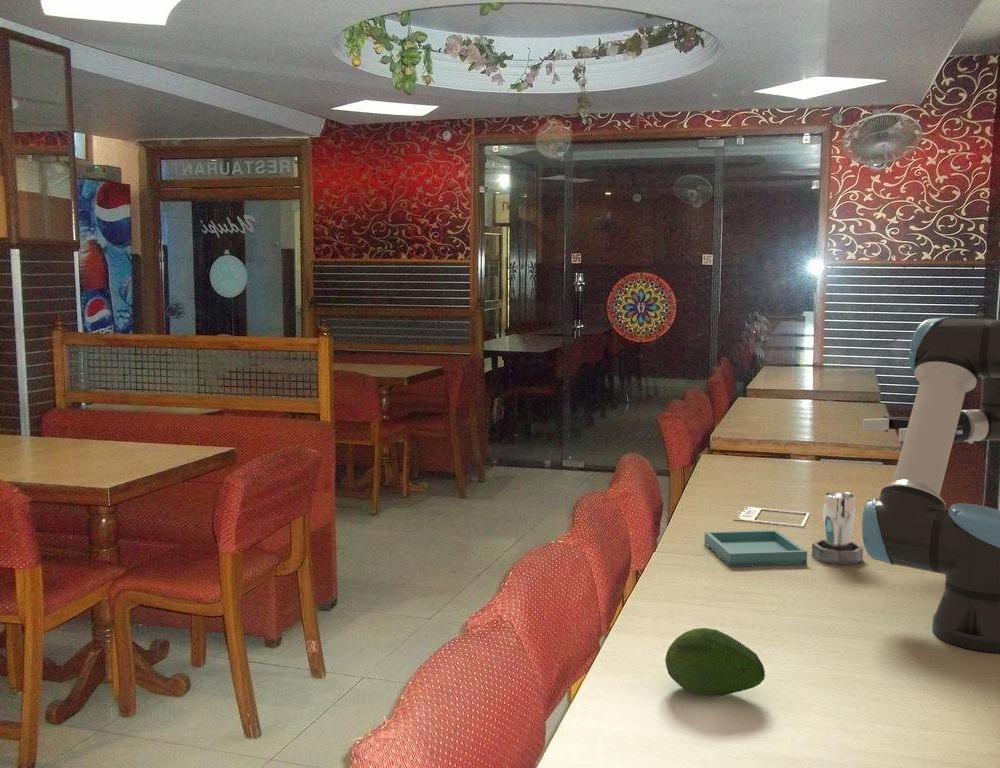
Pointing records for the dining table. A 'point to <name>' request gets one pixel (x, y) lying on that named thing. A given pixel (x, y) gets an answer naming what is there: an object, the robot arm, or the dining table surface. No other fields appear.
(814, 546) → the holder ring
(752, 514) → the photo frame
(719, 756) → the dining table surface
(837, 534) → the silver metal tumbler
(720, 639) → the fruit
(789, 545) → the tray
